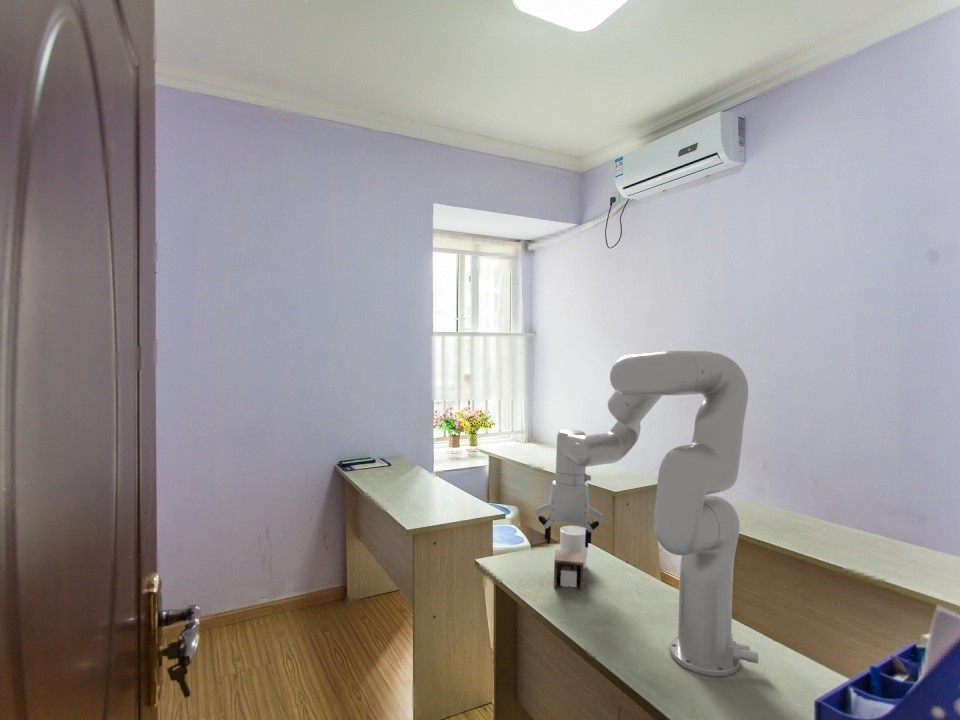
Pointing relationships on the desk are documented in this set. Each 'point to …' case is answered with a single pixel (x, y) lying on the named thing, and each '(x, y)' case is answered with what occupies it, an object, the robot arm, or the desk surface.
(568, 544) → the white cup
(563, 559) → the brown open box
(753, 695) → the desk surface
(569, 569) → the cube
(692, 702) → the desk surface
